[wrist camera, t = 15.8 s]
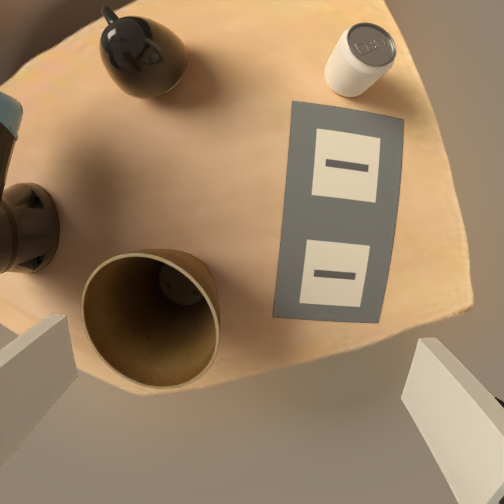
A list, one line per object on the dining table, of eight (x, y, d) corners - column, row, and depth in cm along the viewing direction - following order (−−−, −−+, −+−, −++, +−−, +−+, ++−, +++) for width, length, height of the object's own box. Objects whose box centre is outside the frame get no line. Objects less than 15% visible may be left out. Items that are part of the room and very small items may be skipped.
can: (376, 88, 38) (410, 60, 26) (338, 104, 39) (364, 78, 27) (352, 51, 37) (378, 13, 25) (314, 66, 38) (331, 28, 26)
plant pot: (124, 241, 44) (62, 268, 29) (222, 218, 43) (196, 237, 27) (152, 334, 47) (109, 392, 31) (245, 320, 46) (235, 384, 30)
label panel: (272, 316, 45) (272, 317, 45) (292, 101, 39) (292, 100, 39) (377, 323, 45) (378, 323, 45) (403, 119, 39) (403, 119, 38)
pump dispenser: (174, 30, 37) (139, -23, 23) (206, 79, 39) (177, 32, 24) (116, 67, 39) (63, 30, 24) (144, 118, 40) (90, 92, 26)
